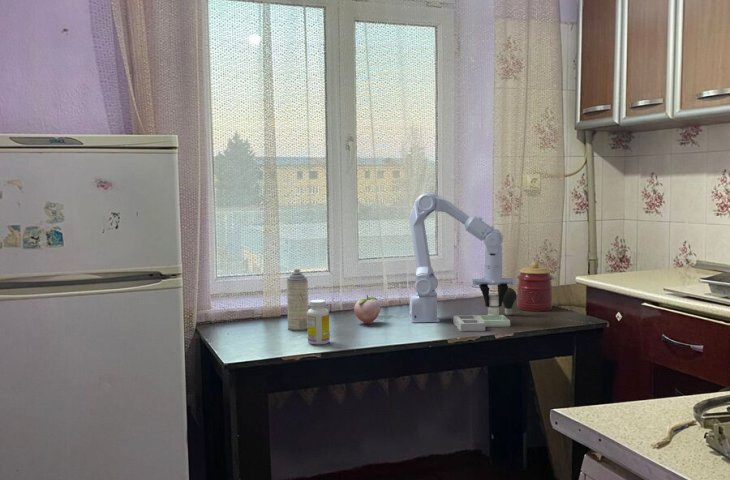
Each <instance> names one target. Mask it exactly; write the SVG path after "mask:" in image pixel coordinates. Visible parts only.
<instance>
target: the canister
mask: <svg viewBox="0 0 730 480" xmlns="http://www.w3.org/2000/svg"><path fill="white" fill-rule="evenodd" d="M519 272H520V274H518V275H517V276H516V278H517V279H518V281H517V282H518V284H517V285H516V287H517V291H516V299H517V300H516V306H517V307H516V308H517V309H518V310H522V311H527V312H546V311H551V310H552V309H553V288H554V287H553V284H552V280H553V279H554V277H553V276H552V275H551V270H550V269H548V268H547V267H545V266H540V264H539V263H538V261H532V263H531V266H524V267H522V268H521V269H520V270H519Z"/></svg>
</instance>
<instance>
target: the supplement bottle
mask: <svg viewBox="0 0 730 480" xmlns="http://www.w3.org/2000/svg"><path fill="white" fill-rule="evenodd" d="M326 301H327V300H325V299H312V300H310V301H309V306H310V309H309V308H308V312H307V325H308V330H307V341H308V343H309V344H310V345H316V346H317V345H326V344H328V343H330V339H331V338H330V336H331V335H330V311H329V310H328V308H326V305H327V304H326Z"/></svg>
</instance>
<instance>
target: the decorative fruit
mask: <svg viewBox="0 0 730 480" xmlns="http://www.w3.org/2000/svg"><path fill="white" fill-rule="evenodd" d="M353 309H354V314H355V316H356V317H357V319H358V320H359V321H361V322H362V323H364V324H366V325H369V324H371V323H373V322H375V320H376V319H377V318H378V316H379V314H380V313H381V305H380V303H379V302H378V299H377V298H376V297H374V296H368V294H367V295H366V297H365V298H360V299H359V300H357V302H355V304H354V308H353Z"/></svg>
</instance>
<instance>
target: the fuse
mask: <svg viewBox="0 0 730 480" xmlns="http://www.w3.org/2000/svg"><path fill="white" fill-rule="evenodd" d="M487 315H488V317H499V315H500V307H499V295H498V294H489V307H487Z"/></svg>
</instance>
